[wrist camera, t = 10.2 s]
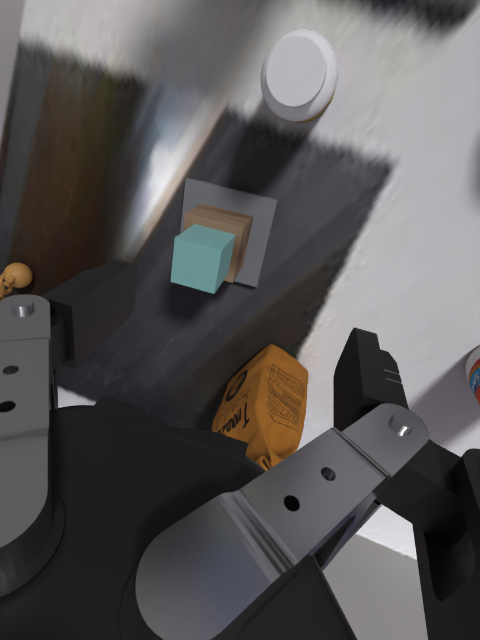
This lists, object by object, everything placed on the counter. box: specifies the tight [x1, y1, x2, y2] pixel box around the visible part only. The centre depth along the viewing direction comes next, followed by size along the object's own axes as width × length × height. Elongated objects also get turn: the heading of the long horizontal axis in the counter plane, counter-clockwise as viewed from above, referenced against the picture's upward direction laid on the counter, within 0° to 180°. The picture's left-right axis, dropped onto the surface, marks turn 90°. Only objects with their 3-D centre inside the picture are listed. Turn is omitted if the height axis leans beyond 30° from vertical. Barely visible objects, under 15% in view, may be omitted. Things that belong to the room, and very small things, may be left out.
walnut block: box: [183, 203, 253, 283], centre depth 45 cm, size 7×7×6 cm
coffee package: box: [212, 344, 308, 471], centre depth 48 cm, size 10×12×22 cm
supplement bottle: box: [261, 29, 338, 123], centre depth 33 cm, size 7×7×13 cm
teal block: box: [171, 224, 235, 294], centre depth 40 cm, size 5×5×6 cm
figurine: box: [0, 263, 33, 301], centre depth 54 cm, size 8×6×12 cm
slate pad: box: [180, 178, 278, 287], centre depth 48 cm, size 12×12×1 cm
